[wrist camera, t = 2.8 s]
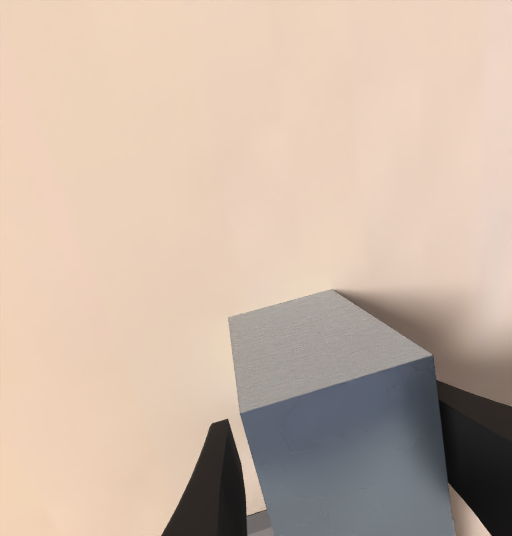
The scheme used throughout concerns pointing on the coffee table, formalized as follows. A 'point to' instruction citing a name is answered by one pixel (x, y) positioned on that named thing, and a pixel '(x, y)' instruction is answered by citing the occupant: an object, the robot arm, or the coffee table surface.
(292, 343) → the block
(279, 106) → the coffee table surface
